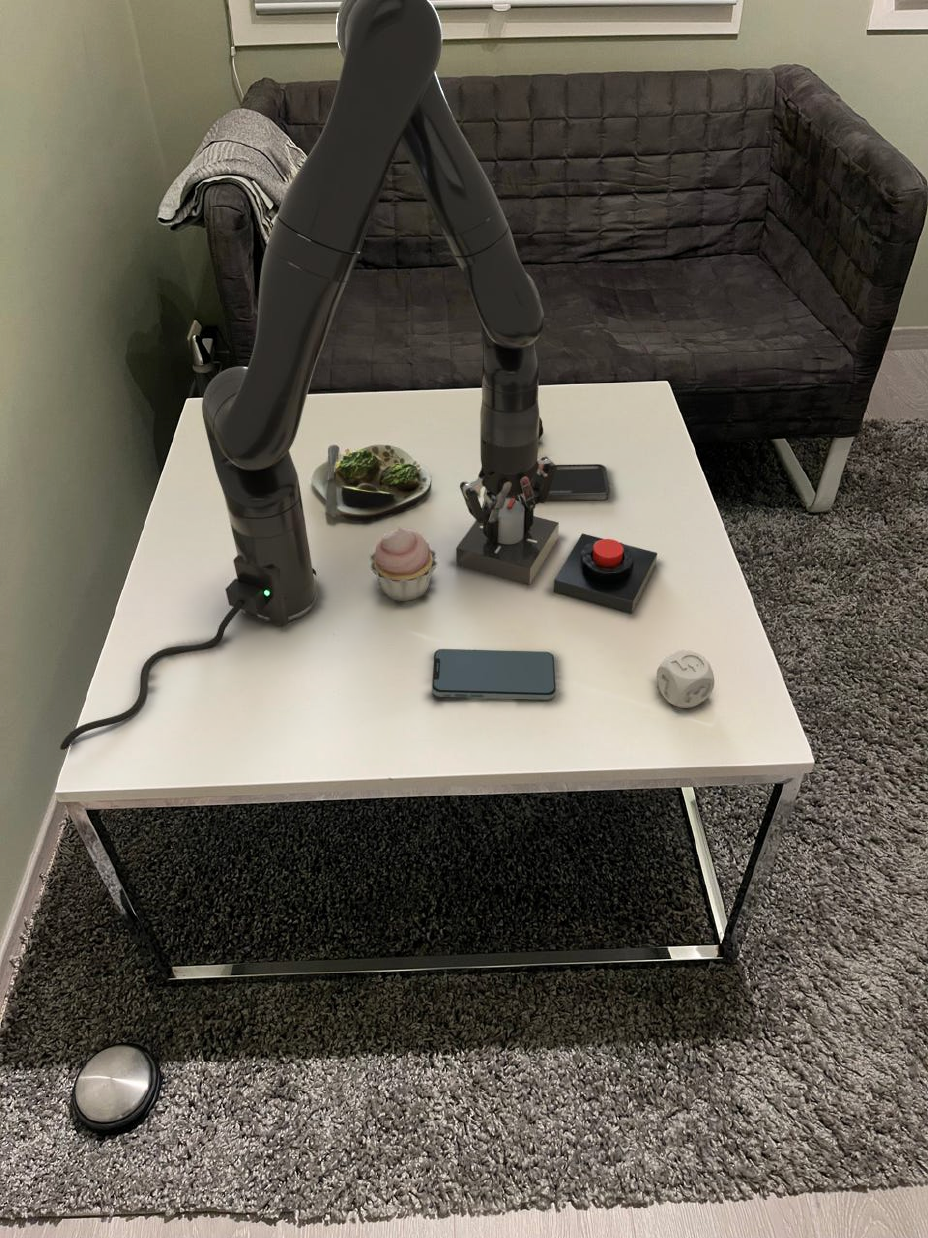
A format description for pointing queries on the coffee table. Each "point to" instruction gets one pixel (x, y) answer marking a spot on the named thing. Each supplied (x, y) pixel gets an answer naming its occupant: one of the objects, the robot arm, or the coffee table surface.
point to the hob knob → (511, 522)
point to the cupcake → (403, 564)
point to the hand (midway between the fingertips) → (507, 533)
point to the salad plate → (370, 482)
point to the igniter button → (607, 553)
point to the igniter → (605, 576)
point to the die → (685, 678)
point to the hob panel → (509, 551)
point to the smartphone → (493, 674)
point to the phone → (578, 483)
